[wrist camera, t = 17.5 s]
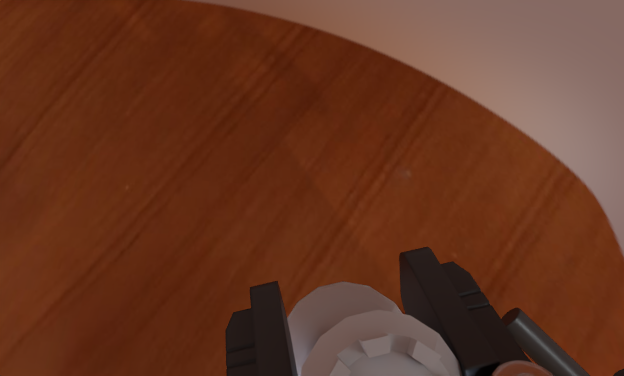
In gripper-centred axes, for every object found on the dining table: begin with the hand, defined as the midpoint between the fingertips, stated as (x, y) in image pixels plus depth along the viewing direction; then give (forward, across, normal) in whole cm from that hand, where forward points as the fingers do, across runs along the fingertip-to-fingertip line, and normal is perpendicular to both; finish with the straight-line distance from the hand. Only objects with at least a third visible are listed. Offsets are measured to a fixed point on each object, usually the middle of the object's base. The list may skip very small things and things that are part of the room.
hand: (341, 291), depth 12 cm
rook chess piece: (+2, 0, +4) cm, 5 cm away
